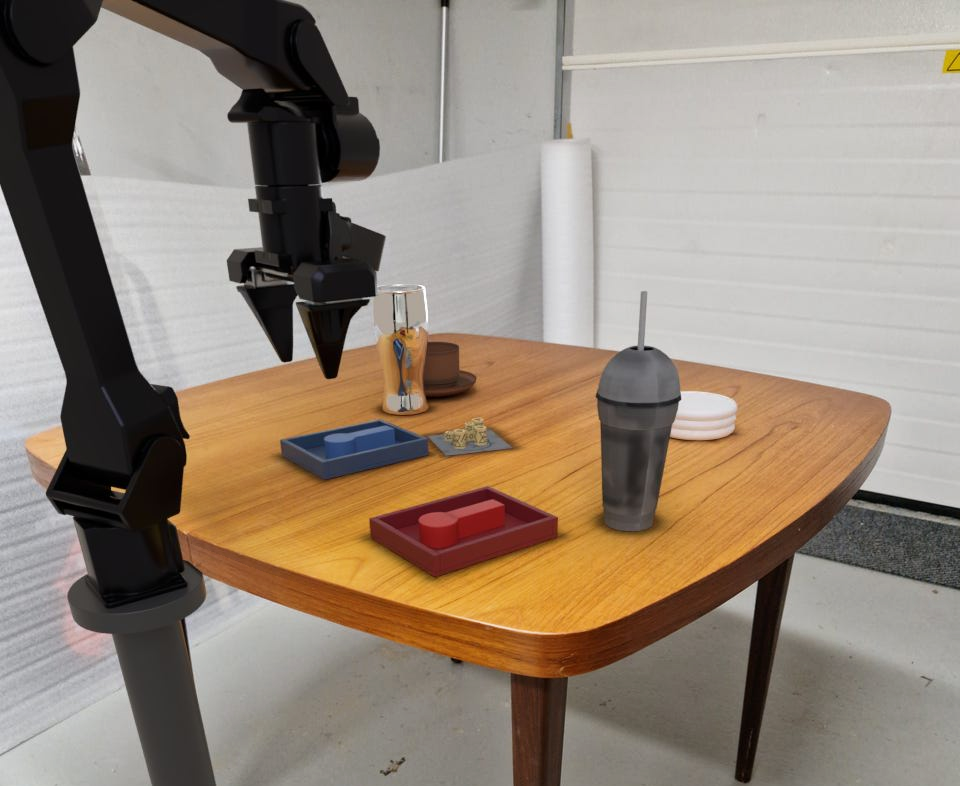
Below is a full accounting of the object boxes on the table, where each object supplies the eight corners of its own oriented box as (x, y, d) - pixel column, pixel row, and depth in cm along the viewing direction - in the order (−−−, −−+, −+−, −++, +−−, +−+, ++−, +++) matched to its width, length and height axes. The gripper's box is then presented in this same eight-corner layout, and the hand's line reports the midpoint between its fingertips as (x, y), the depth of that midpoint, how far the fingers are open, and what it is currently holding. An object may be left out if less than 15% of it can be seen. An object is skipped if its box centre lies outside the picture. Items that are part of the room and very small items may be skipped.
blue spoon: (383, 440, 100) (382, 423, 99) (399, 447, 97) (398, 430, 96) (320, 454, 96) (318, 437, 95) (334, 462, 93) (333, 444, 92)
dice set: (481, 433, 103) (481, 417, 102) (495, 445, 99) (495, 428, 98) (441, 437, 102) (441, 421, 101) (454, 450, 98) (453, 433, 97)
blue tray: (324, 479, 89) (322, 462, 88) (281, 456, 97) (279, 439, 96) (428, 455, 96) (428, 438, 95) (381, 434, 103) (380, 418, 102)
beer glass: (430, 416, 110) (425, 291, 103) (376, 416, 110) (367, 292, 103) (433, 402, 116) (428, 283, 109) (382, 402, 116) (374, 284, 109)
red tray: (434, 577, 69) (433, 555, 68) (370, 537, 76) (368, 518, 75) (557, 536, 76) (558, 516, 75) (488, 504, 83) (488, 485, 82)
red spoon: (487, 517, 79) (487, 496, 78) (510, 528, 77) (510, 507, 76) (412, 539, 75) (410, 517, 74) (433, 551, 72) (432, 530, 71)
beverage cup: (673, 512, 80) (698, 284, 70) (662, 541, 74) (686, 297, 64) (597, 503, 83) (610, 281, 72) (580, 532, 77) (592, 294, 67)
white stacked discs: (752, 432, 102) (756, 403, 100) (689, 446, 98) (692, 416, 96) (693, 413, 109) (696, 386, 108) (633, 425, 105) (635, 397, 103)
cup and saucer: (424, 408, 113) (422, 360, 110) (375, 391, 122) (372, 346, 118) (493, 393, 120) (493, 347, 117) (442, 377, 128) (441, 335, 125)
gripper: (425, 185, 72) (432, 375, 79) (321, 180, 85) (335, 344, 92) (305, 189, 66) (325, 393, 74) (213, 184, 79) (238, 358, 87)
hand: (308, 369), depth 82 cm, fingers open, 9 cm apart
